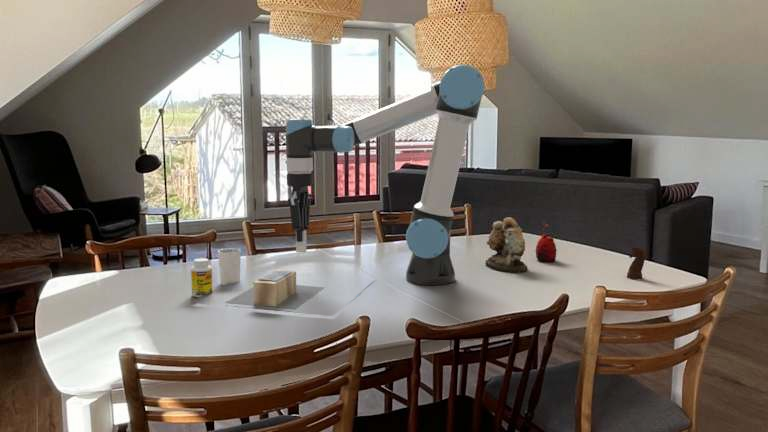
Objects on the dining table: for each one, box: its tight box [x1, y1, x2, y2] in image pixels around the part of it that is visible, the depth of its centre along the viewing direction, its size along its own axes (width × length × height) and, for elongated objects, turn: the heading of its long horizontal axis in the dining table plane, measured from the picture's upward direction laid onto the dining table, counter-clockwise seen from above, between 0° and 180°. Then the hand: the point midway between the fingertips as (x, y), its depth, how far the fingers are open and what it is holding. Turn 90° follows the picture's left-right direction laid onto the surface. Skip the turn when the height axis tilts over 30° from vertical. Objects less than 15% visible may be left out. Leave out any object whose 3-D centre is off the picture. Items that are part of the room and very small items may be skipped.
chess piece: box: [626, 246, 646, 280], centre depth 200 cm, size 5×5×10 cm
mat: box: [224, 284, 326, 313], centre depth 176 cm, size 20×22×1 cm
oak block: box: [253, 269, 297, 306], centre depth 172 cm, size 6×6×14 cm
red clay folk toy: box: [535, 220, 557, 263], centre depth 223 cm, size 8×7×15 cm
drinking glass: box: [217, 248, 242, 286], centre depth 190 cm, size 7×7×10 cm
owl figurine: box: [485, 216, 528, 274], centre depth 213 cm, size 18×12×17 cm, turn 28°
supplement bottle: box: [190, 257, 213, 298], centre depth 177 cm, size 6×6×10 cm
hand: (301, 251), depth 188 cm, fingers closed
